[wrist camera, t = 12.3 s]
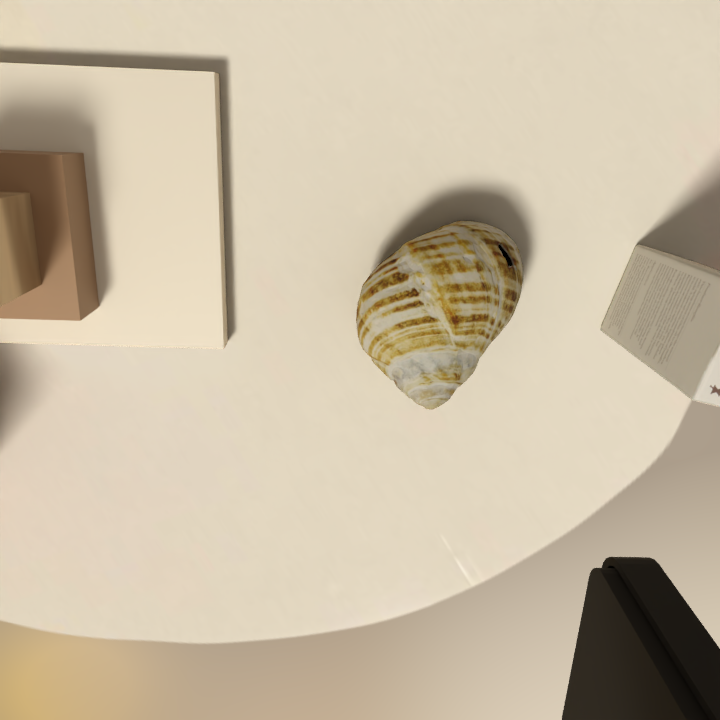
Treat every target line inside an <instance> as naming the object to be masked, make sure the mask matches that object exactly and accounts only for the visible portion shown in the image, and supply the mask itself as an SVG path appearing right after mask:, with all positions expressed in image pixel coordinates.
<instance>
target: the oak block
mask: <svg viewBox="0 0 720 720" xmlns="http://www.w3.org/2000/svg"><path fill="white" fill-rule="evenodd" d="M40 285H42V283H41V276H40V268H39V260H38V253H37V245H36V237H35V229H34V222H33V214H32V206H31V199H30V193H28V192H2V191H0V307H1V306H2V305H4V304H6V303H8V302H10V301H12V300H14V299H16V298H18V297H19V296H21V295H23V294H25V293H27V292H29V291H31V290H33V289H35V288H37V287H38V286H40Z"/></svg>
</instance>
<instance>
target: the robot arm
mask: <svg viewBox="0 0 720 720" xmlns="http://www.w3.org/2000/svg"><path fill="white" fill-rule="evenodd" d="M562 720H720V649H719V647H718V646H717V644H716V643H715V642H714V640H713V639H712V637H711V636H710V635H709V633H708V632H707V630H706V629H705V628H704V626H703V625H702V623H701V622H700V621H699V619H698V618H697V617H696V615H695V614H694V612H693V611H692V610H691V608H690V607H689V605H688V604H687V603H686V601H685V600H684V599H683V597H682V596H681V594H680V593H679V592H678V590H677V589H676V587H675V586H674V585H673V583H672V582H671V580H670V579H669V578H668V576H667V575H666V573H665V572H664V571H663V569H662V568H661V567H660V565H659V564H658V563H657V562H656V561H655V560H654V559H652V558H641V557H609V558H606V560H605V561H604V563H603V565H602V568H594V569H593V570H592V571H591V573H590V576H589V581H588V586H587V591H586V597H585V602H584V607H583V612H582V617H581V622H580V627H579V632H578V638H577V643H576V648H575V653H574V658H573V664H572V669H571V674H570V679H569V684H568V690H567V695H566V700H565V706H564V710H563V715H562Z"/></svg>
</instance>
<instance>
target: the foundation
mask: <svg viewBox="0 0 720 720" xmlns="http://www.w3.org/2000/svg"><path fill="white" fill-rule="evenodd" d="M0 191H2V192H28V193H30V199H31V206H32V214H33V222H34V229H35V237H36V245H37V253H38V260H39V268H40V276H41V283H42V285H40V286H38V287H37V288H35V289H33V290H31V291H29V292H27V293H25V294H23V295H21V296H19V297H18V298H16V299H14V300H12V301H10V302H8V303H6V304H4V305H2V306H1V307H0V343H29V344H64V345H99V346H134V347H169V348H204V349H224V348H225V346H226V344H227V342H228V333H227V303H226V272H225V241H224V210H223V179H222V149H221V118H220V87H219V74H218V73H216V72H207V71H184V70H161V69H138V68H115V67H93V66H70V65H47V64H24V63H1V62H0Z"/></svg>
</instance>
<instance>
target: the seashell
mask: <svg viewBox="0 0 720 720" xmlns="http://www.w3.org/2000/svg"><path fill="white" fill-rule="evenodd" d="M498 245H501V246H502V248H503V249H504V250H505V251H506V253H507V254H508V256H509V257H510V259H511V261H512V264H513V266H509V267H508V264H507V261H506V259H505V258H504V257H503V255H502V252H501V251H500V249H499V247H498ZM522 281H523V266H522V261H521V256H520V252H519V249H518V248H517V246H516V244H515V242H514V241H513V240H512V239H511V238H510V237H509V236H508V235H507V234H506V233H504V232H503V231H501V230H500V229H498V228H496V227H493V226H491V225H488V224H485V223H481V222H475V221H457V222H453V223H451V224H449V225H445V226H441V227H440V228H438V229H437V230H435V231H432V232H429V233H426V234H424V235H421V236H419V237H417V238H415V239H413V240H410V241H408V242H406V243H405V244H403V246H402V247H401V248H400V249H399V250H397V251H396V252H395V253H394V254H392V255H391V256H390V257H388V258H387V259H386V260H384V261H383V262H382V263H381V264H379V265H378V267H377V268H376V269H375V270H374V271H373V272H372V273H371V274H370V276H369V277H368V279H367V280H366V281H365V283H364V284H363V286H362V290H361V294H360V298H359V301H358V307H357V318H356V322H357V331H358V337H359V341H360V344H361V346H362V348H363V350H364V351H365V352H366V353H367V354H368V355H369V356H370V357H371V358H372V361H373V362H374V363H375V365H376V366H377V367H378V368H379V369H380V370H381V371H382V372H383V373H384V374H385V375H386V376H388V377H389V378H390V379H391V380H393V381H394V382H395V384H396V386H397V387H398V388H399V389H400V390H401V391H402V392H403V393H405V394H406V395H407V396H408V397H409V398H411V399H412V400H413V401H414V402H416V403H417V404H419V405H421V406H423V407H425V408H426V409H435V408H437V407H439V406H440V405H442V404H443V403H445V402H446V401H448V400H449V399H450V398H451V396H452V395H453V393H454V391H455V390H456V388H457V387H459V386H461V385H462V384H463V383H464V382H465V381H466V380H467V379H468V378H469V377H470V376H471V375H472V373H473V372H474V370H475V368H476V366H477V363H478V361H479V358H480V357H481V356H482V354H483V353H484V351H485V350H486V348H487V347H488V346H489V344H490V343H491V342H492V341H493V340H494V339H495V338H496V337H497V336H498V334H499V333H500V332H501V331H502V329H503V328H504V327H505V326H506V325H507V323H508V322H509V321H510V319H511V317H512V316H513V313H514V311H515V308H516V306H517V303H518V301H519V298H520V294H521V288H522Z"/></svg>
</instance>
